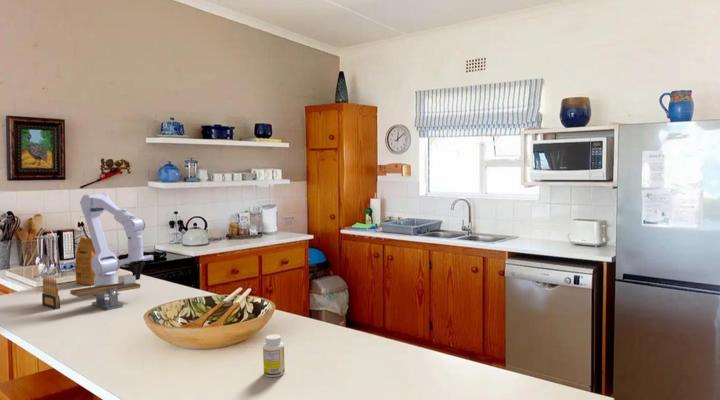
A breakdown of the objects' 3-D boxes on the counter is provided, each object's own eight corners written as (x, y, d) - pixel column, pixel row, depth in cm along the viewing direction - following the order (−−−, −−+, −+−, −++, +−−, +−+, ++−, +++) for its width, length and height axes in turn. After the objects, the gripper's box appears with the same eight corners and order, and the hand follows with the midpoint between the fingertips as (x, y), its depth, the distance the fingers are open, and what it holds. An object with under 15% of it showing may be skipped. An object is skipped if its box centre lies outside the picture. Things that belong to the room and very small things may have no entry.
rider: (118, 285, 214) (118, 275, 214) (129, 283, 219) (129, 274, 219) (124, 286, 212) (124, 277, 212) (135, 285, 216) (135, 275, 216)
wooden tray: (69, 296, 201) (69, 290, 201) (129, 287, 220) (129, 281, 220) (80, 299, 196) (80, 293, 196) (140, 290, 215) (140, 284, 215)
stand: (91, 304, 210) (90, 286, 210) (106, 301, 215) (105, 283, 214) (107, 310, 202) (106, 291, 202) (122, 306, 207) (121, 288, 206)
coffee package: (90, 279, 256) (88, 235, 255) (108, 281, 251) (106, 236, 250) (71, 284, 247) (69, 238, 246) (89, 286, 242) (87, 239, 241)
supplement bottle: (275, 368, 144) (274, 331, 143) (289, 373, 140) (288, 336, 140) (259, 374, 140) (258, 337, 139) (273, 380, 136) (272, 341, 135)
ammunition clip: (42, 305, 210) (40, 276, 209) (47, 304, 212) (45, 275, 211) (55, 309, 204) (53, 279, 203) (60, 308, 206) (58, 278, 205)
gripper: (123, 250, 209) (125, 284, 210) (156, 245, 220) (158, 277, 221) (114, 248, 213) (116, 281, 214) (147, 244, 225) (149, 275, 226)
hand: (136, 279), depth 218 cm, fingers closed
